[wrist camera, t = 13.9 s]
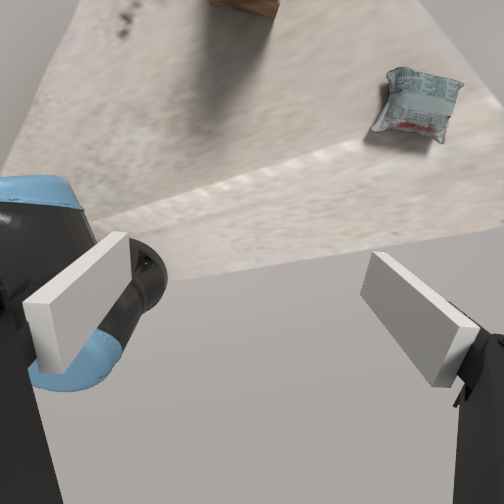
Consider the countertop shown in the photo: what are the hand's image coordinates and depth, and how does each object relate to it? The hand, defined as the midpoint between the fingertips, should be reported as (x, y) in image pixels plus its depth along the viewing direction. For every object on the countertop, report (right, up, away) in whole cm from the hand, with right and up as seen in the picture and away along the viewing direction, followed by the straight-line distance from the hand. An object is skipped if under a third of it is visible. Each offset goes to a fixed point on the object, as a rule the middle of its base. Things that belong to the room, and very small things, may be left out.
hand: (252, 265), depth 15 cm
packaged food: (+25, +23, +30) cm, 45 cm away
